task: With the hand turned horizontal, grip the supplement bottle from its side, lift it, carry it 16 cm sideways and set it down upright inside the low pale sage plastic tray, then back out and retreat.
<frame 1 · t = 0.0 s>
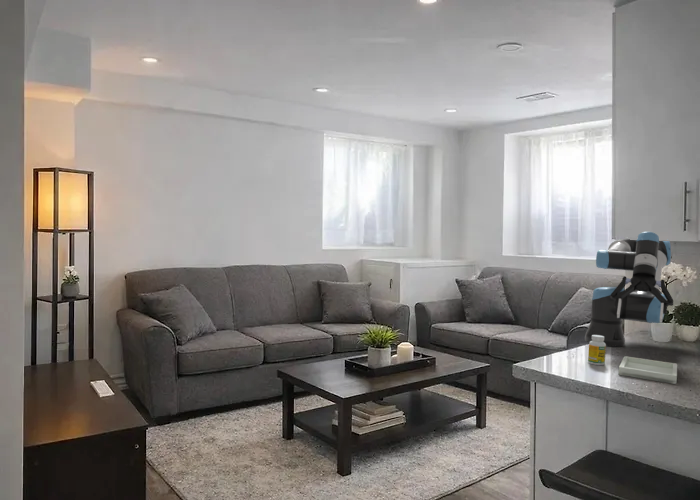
hand: (639, 318, 203), 15 cm above the counter, tool tilted 35°, fingers open, 13 cm apart
supplement bottle: (596, 364, 196), on the counter
tray: (648, 372, 186), on the counter
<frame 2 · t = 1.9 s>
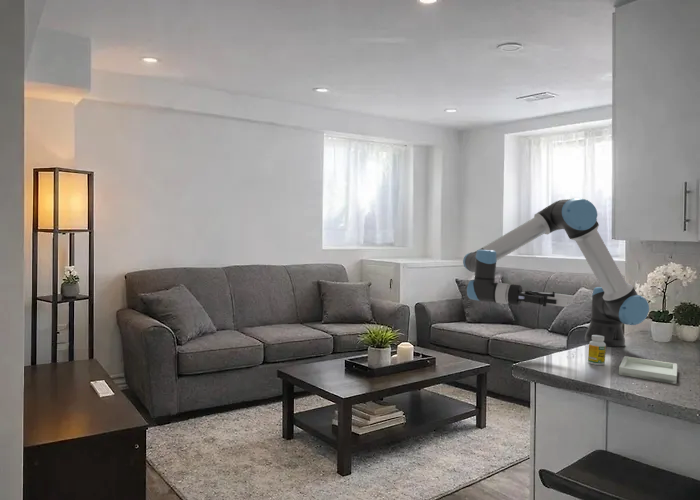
hand: (570, 301, 200), 20 cm above the counter, tool horizontal, fingers open, 13 cm apart
nothing on the counter moved.
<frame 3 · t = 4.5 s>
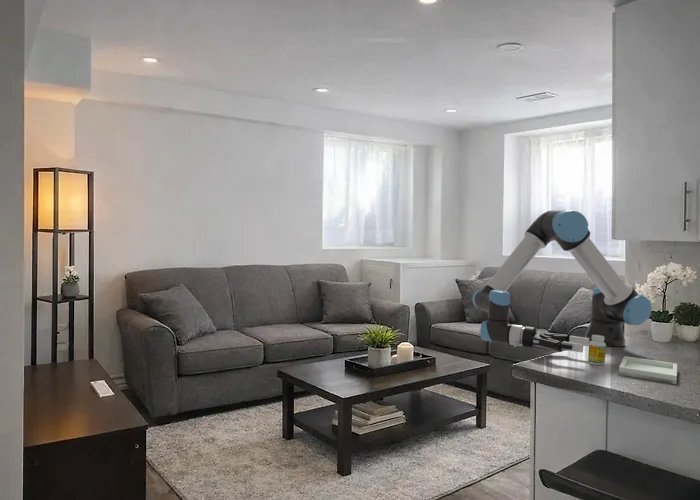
hand: (586, 345, 197), 6 cm above the counter, tool horizontal, fingers open, 13 cm apart
nothing on the counter moved.
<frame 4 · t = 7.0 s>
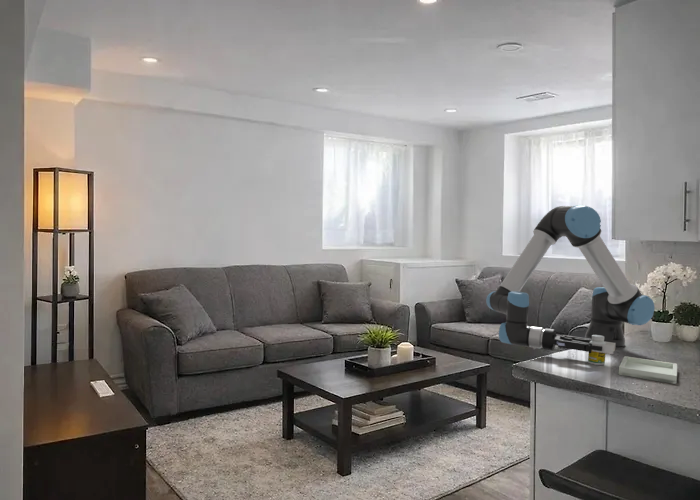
hand: (614, 348, 193), 6 cm above the counter, tool horizontal, fingers closed on supplement bottle, 5 cm apart
supplement bottle: (596, 364, 196), on the counter, touching gripper
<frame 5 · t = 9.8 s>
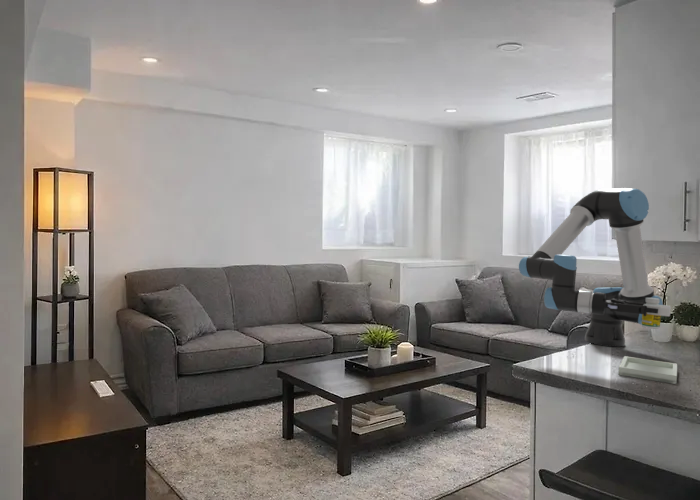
hand: (670, 311, 183), 21 cm above the counter, tool horizontal, fingers closed on supplement bottle, 5 cm apart
supplement bottle: (650, 328, 186), point 15 cm above the counter, touching gripper
when the fingers open (8 cm above the counter, at t = 12.9 s): supplement bottle drops 1 cm, resting on tray.
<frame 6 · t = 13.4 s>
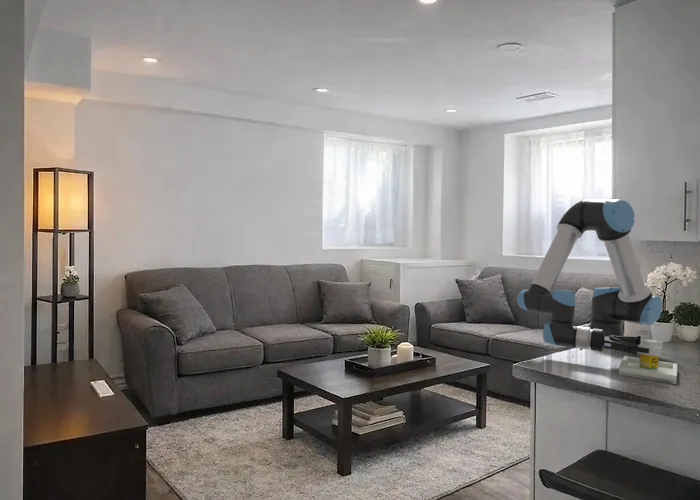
hand: (662, 348, 184), 8 cm above the counter, tool horizontal, fingers open, 13 cm apart
supplement bottle: (648, 370, 186), point 1 cm above the counter, touching tray
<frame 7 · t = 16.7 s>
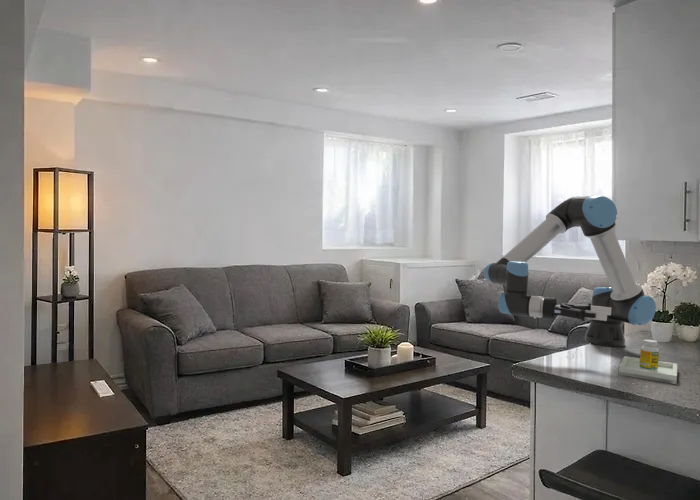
hand: (609, 313, 192), 18 cm above the counter, tool horizontal, fingers open, 13 cm apart
nothing on the counter moved.
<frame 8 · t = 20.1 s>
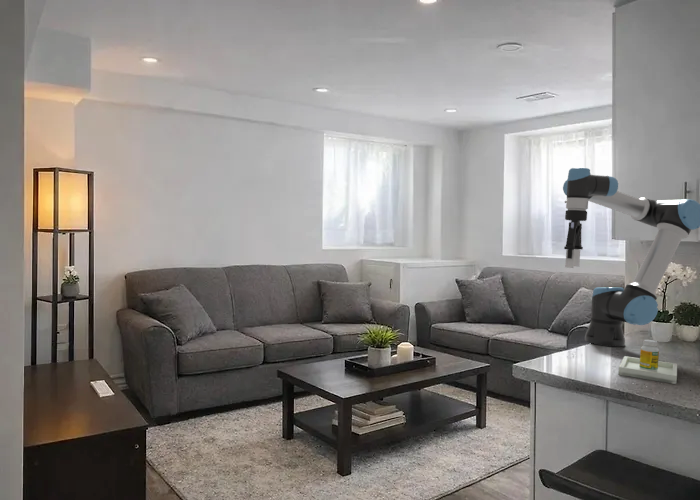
hand: (572, 267, 213), 32 cm above the counter, tool pointing down, fingers open, 13 cm apart
nothing on the counter moved.
at the end: supplement bottle inside the target area on the tray (0.1 cm from its centre), point 0.8 cm above the tray's base; supplement bottle tilted 0°; the gripper is holding nothing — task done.
